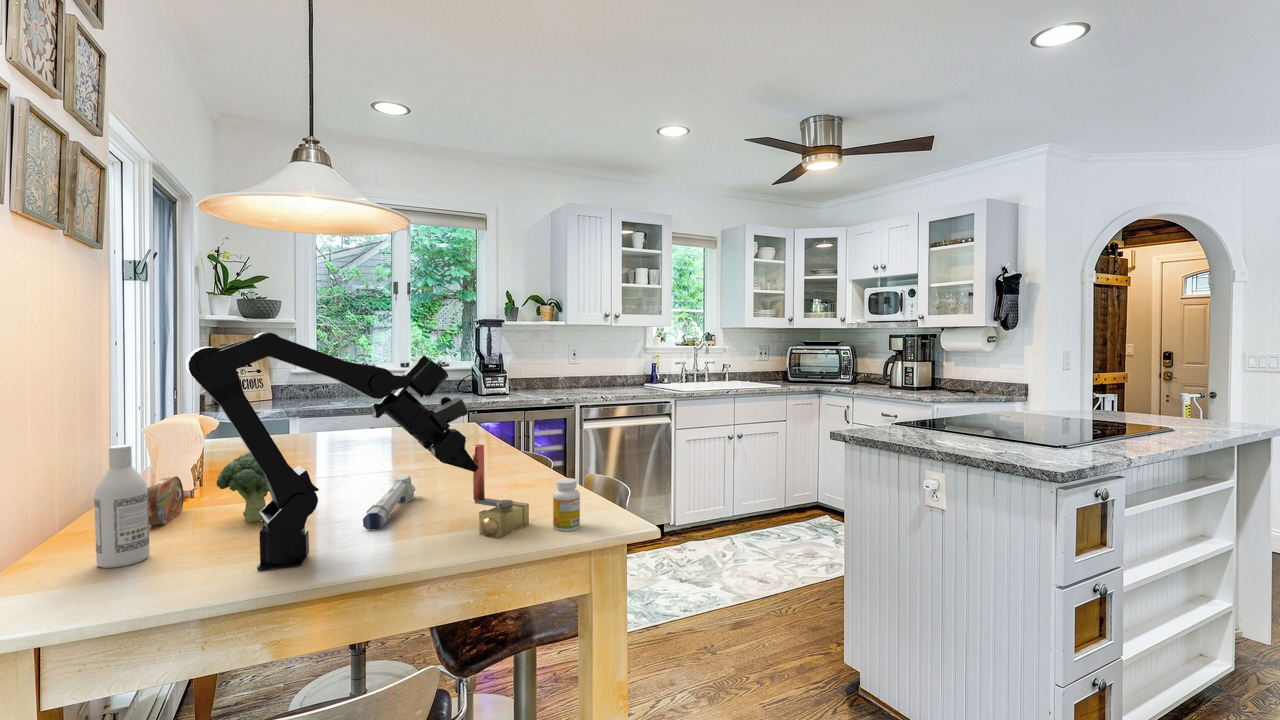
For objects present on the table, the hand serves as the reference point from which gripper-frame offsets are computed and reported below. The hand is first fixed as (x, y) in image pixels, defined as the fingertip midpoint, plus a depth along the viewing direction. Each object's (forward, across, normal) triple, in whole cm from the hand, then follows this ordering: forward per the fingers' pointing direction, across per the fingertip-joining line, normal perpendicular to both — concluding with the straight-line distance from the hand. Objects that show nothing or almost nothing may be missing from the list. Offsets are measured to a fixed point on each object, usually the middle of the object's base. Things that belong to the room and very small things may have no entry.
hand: (470, 465), depth 121 cm
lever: (+8, -3, +3) cm, 9 cm away
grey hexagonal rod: (0, +19, +18) cm, 26 cm away
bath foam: (-32, +11, +49) cm, 59 cm away
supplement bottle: (+21, -10, -3) cm, 23 cm away
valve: (+13, -5, +5) cm, 15 cm away
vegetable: (-19, +27, +36) cm, 49 cm away
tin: (-30, +37, +48) cm, 68 cm away
